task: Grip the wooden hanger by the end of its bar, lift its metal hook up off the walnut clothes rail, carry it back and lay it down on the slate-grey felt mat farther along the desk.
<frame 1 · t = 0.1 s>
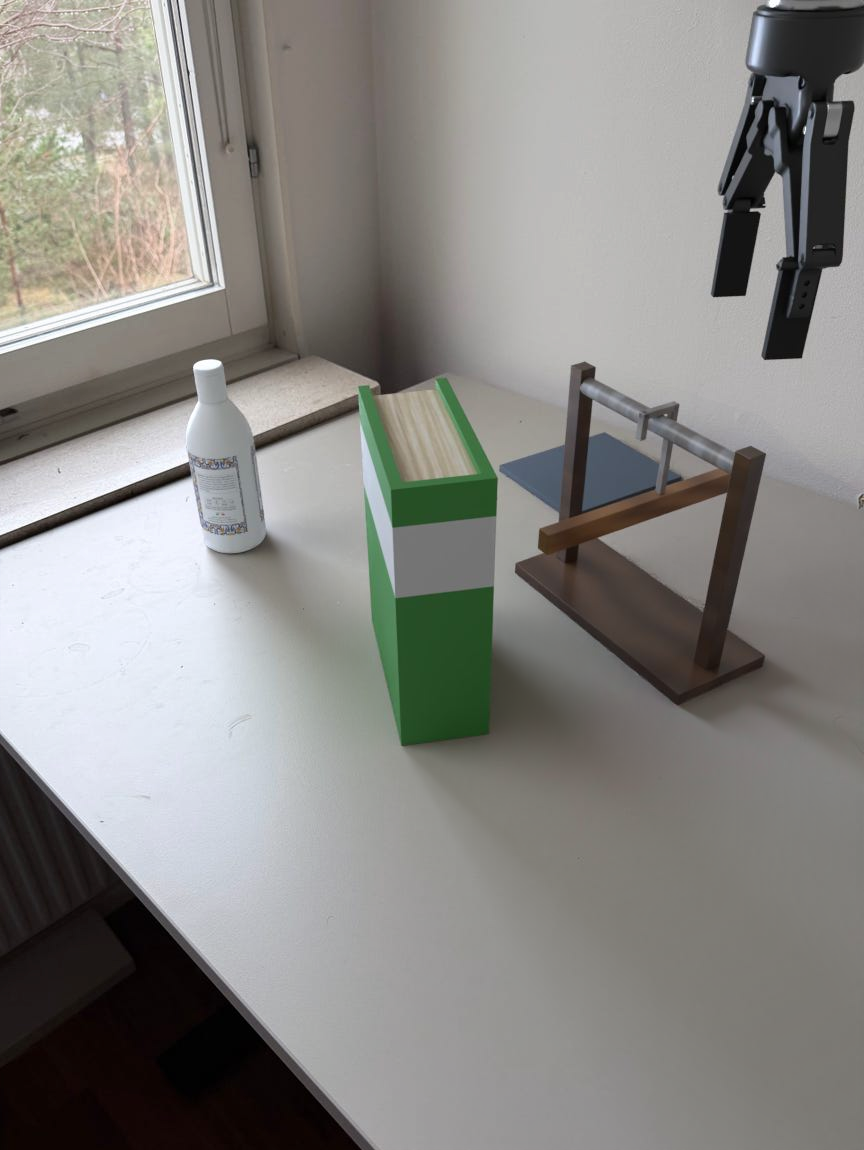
hand: (752, 324, 76), 28 cm above the table, tool pointing down, fingers open, 13 cm apart
hardback book: (426, 674, 88), on the table
hanger: (642, 517, 86), point 11 cm above the table, touching rail stand
rail stand: (629, 616, 93), on the table
bath foam: (235, 540, 107), on the table
mat: (588, 476, 115), on the table
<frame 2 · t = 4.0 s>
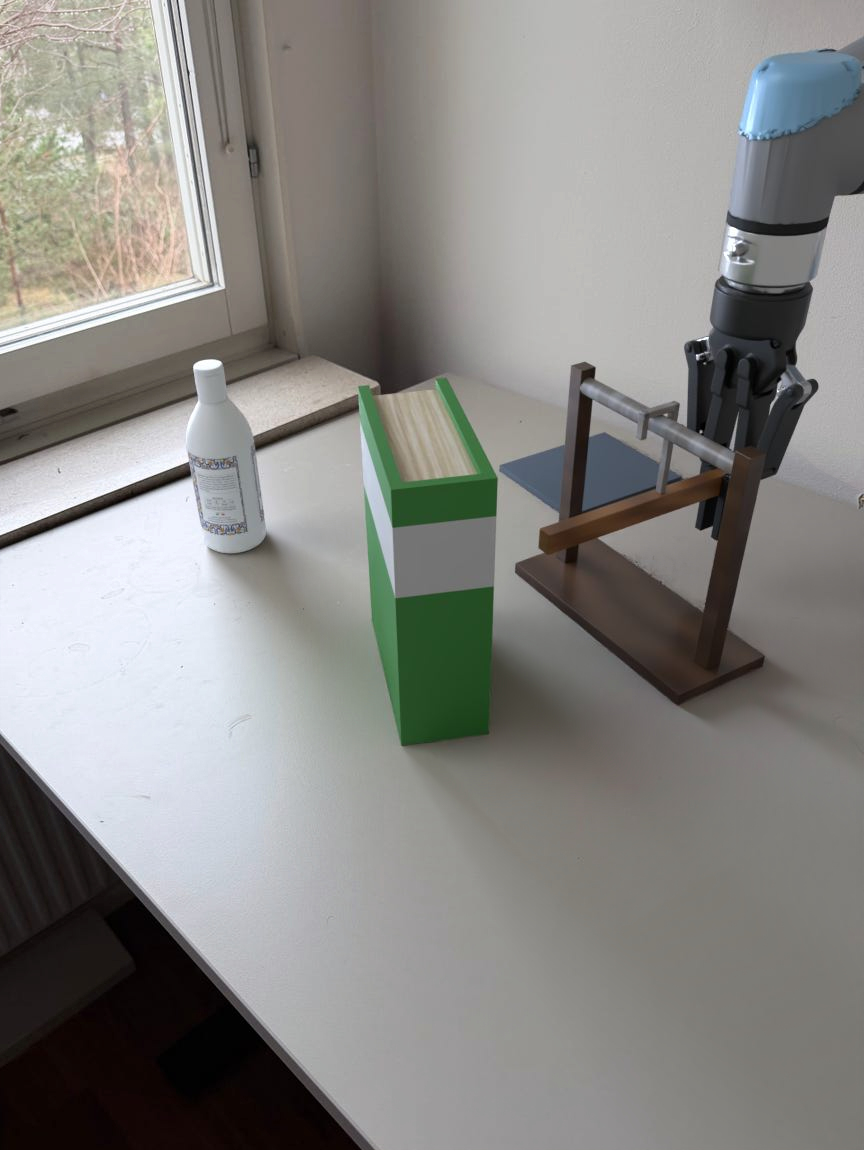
hand: (716, 529, 92), 7 cm above the table, tool pointing down, fingers closed on hanger
hanger: (643, 516, 86), point 11 cm above the table, touching gripper
everything else where it was.
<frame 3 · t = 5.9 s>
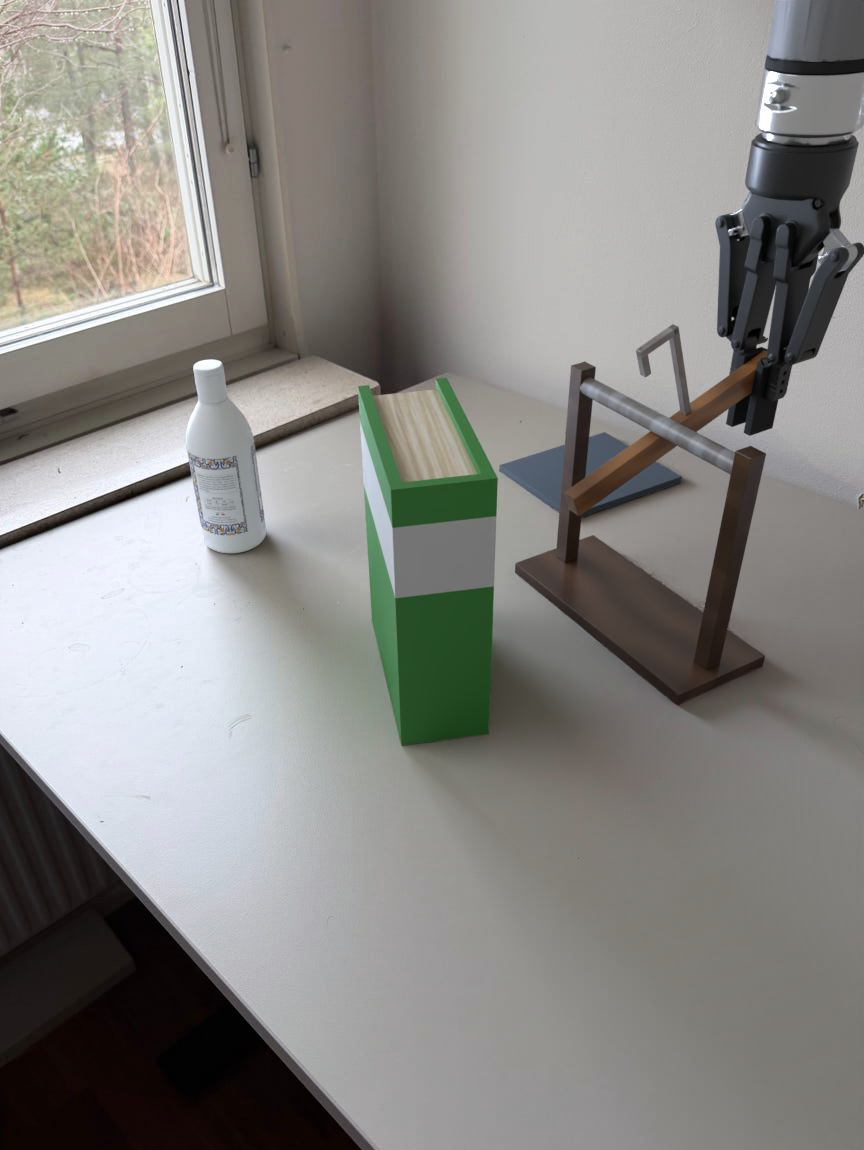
hand: (749, 425, 86), 17 cm above the table, tool pointing down, fingers closed on hanger, 1 cm apart
hanger: (674, 441, 83), point 18 cm above the table, tilted 20°, touching gripper
everything else where it was.
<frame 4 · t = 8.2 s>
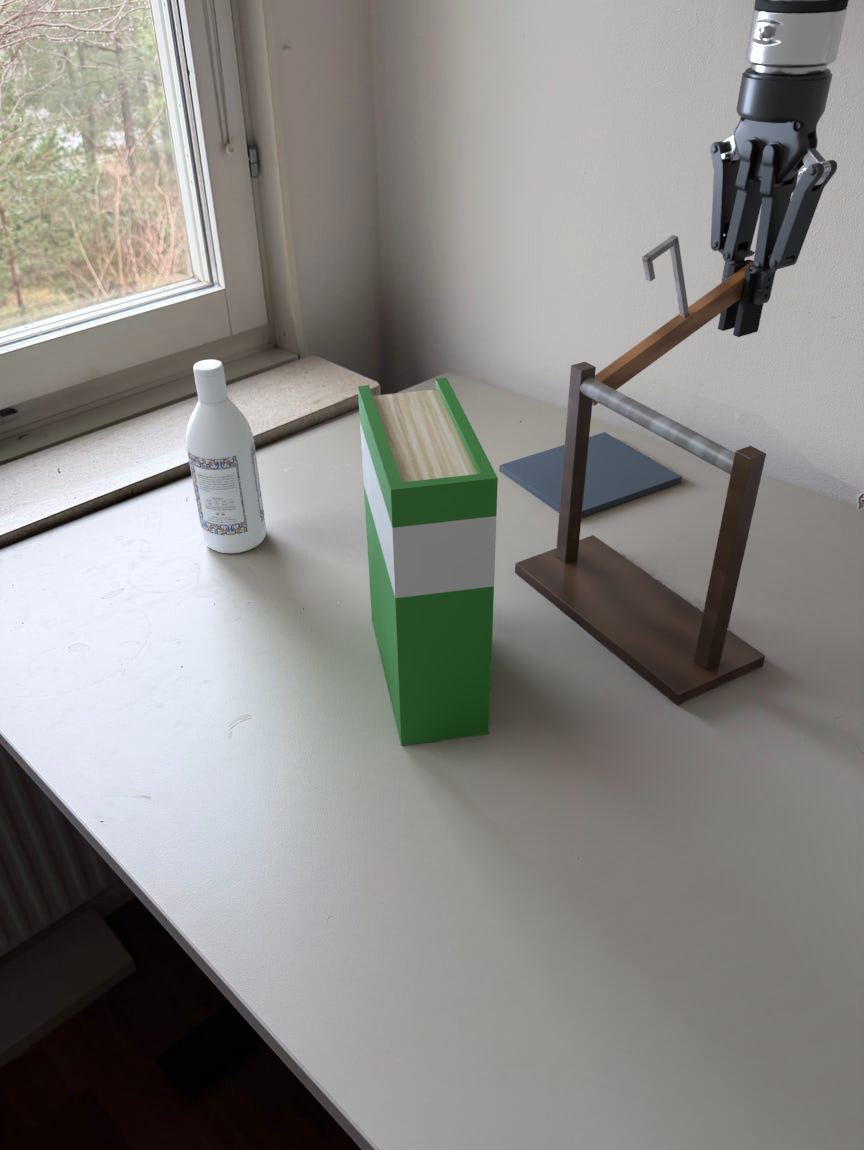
hand: (737, 329, 100), 19 cm above the table, tool pointing down, fingers closed on hanger
hanger: (674, 341, 96), point 19 cm above the table, tilted 21°, touching gripper
everything else where it was.
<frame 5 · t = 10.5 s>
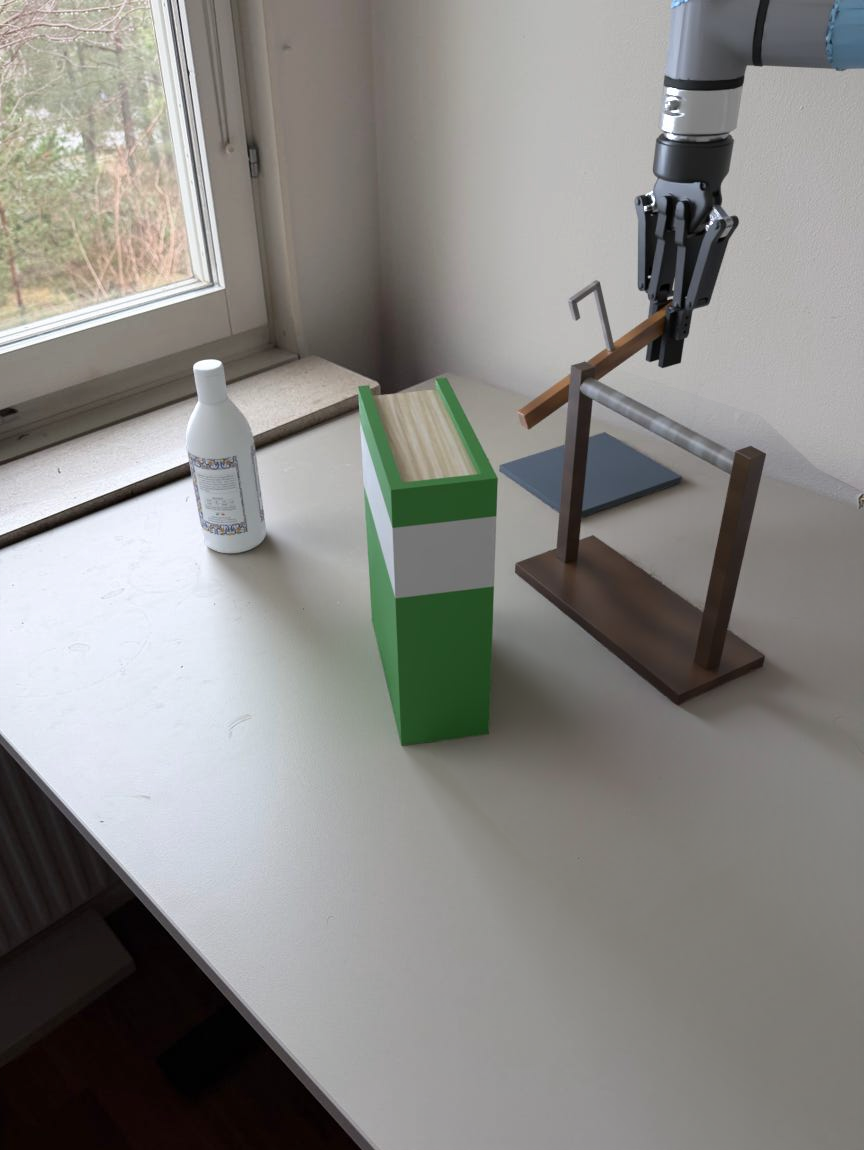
hand: (663, 361, 111), 12 cm above the table, tool pointing down, fingers closed on hanger
hanger: (602, 372, 107), point 13 cm above the table, tilted 21°, touching gripper
everything else where it was.
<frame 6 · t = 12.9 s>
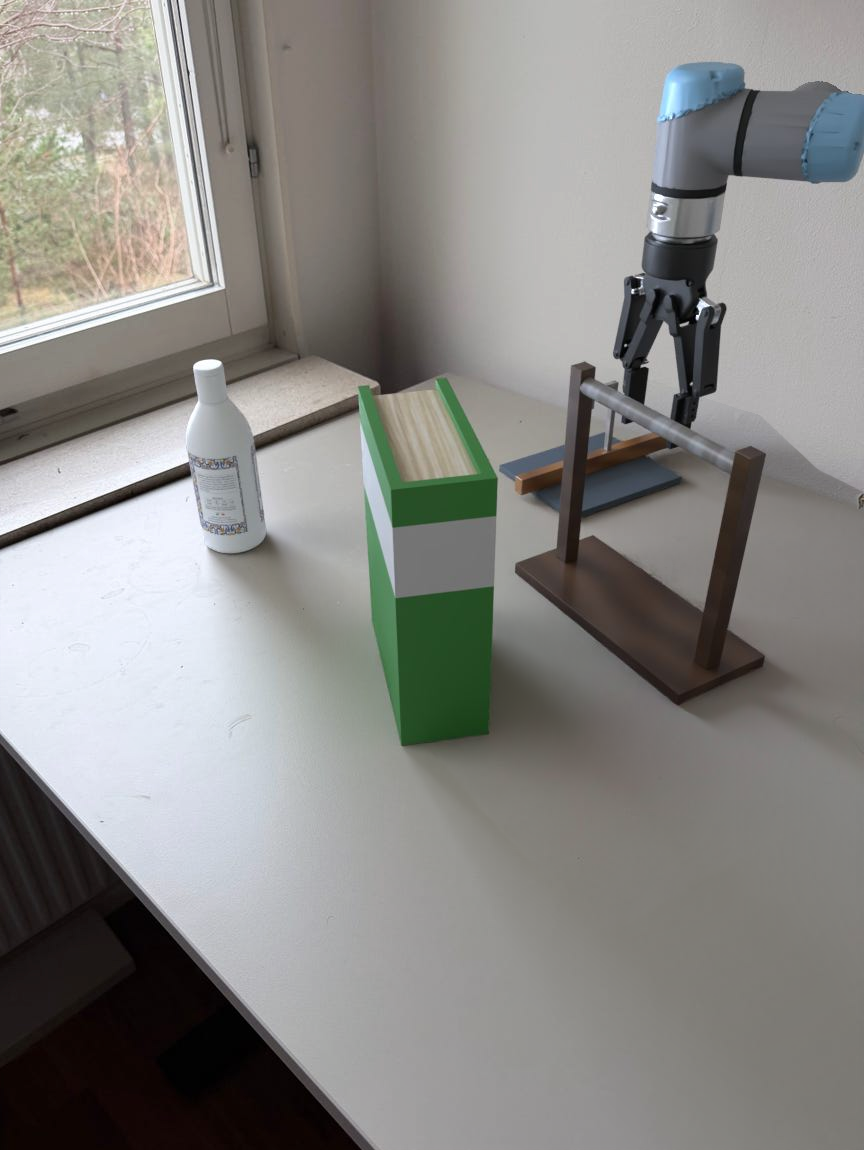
hand: (653, 432, 116), 3 cm above the table, tool pointing down, fingers open, 7 cm apart
hanger: (594, 468, 115), point 1 cm above the table, touching mat
everything else where it was.
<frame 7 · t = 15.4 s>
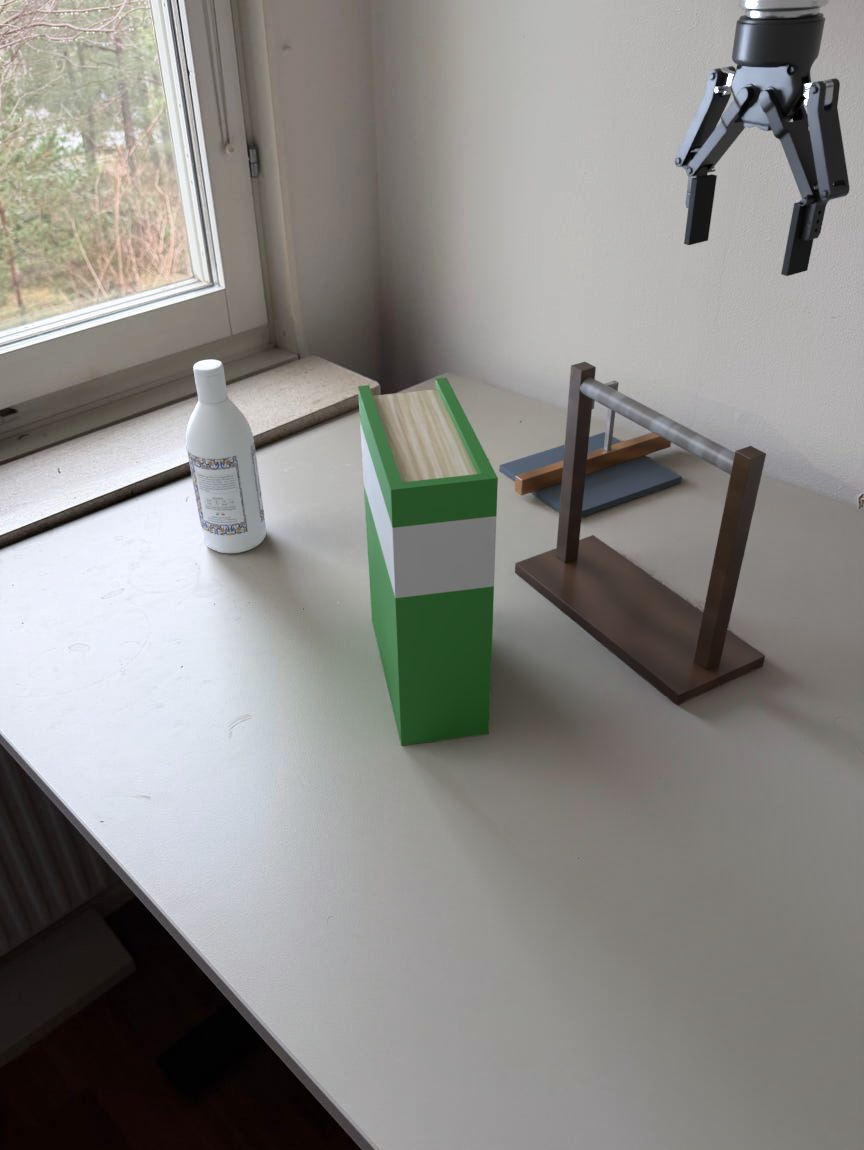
hand: (742, 257, 100), 25 cm above the table, tool pointing down, fingers open, 13 cm apart
nothing on the table moved.
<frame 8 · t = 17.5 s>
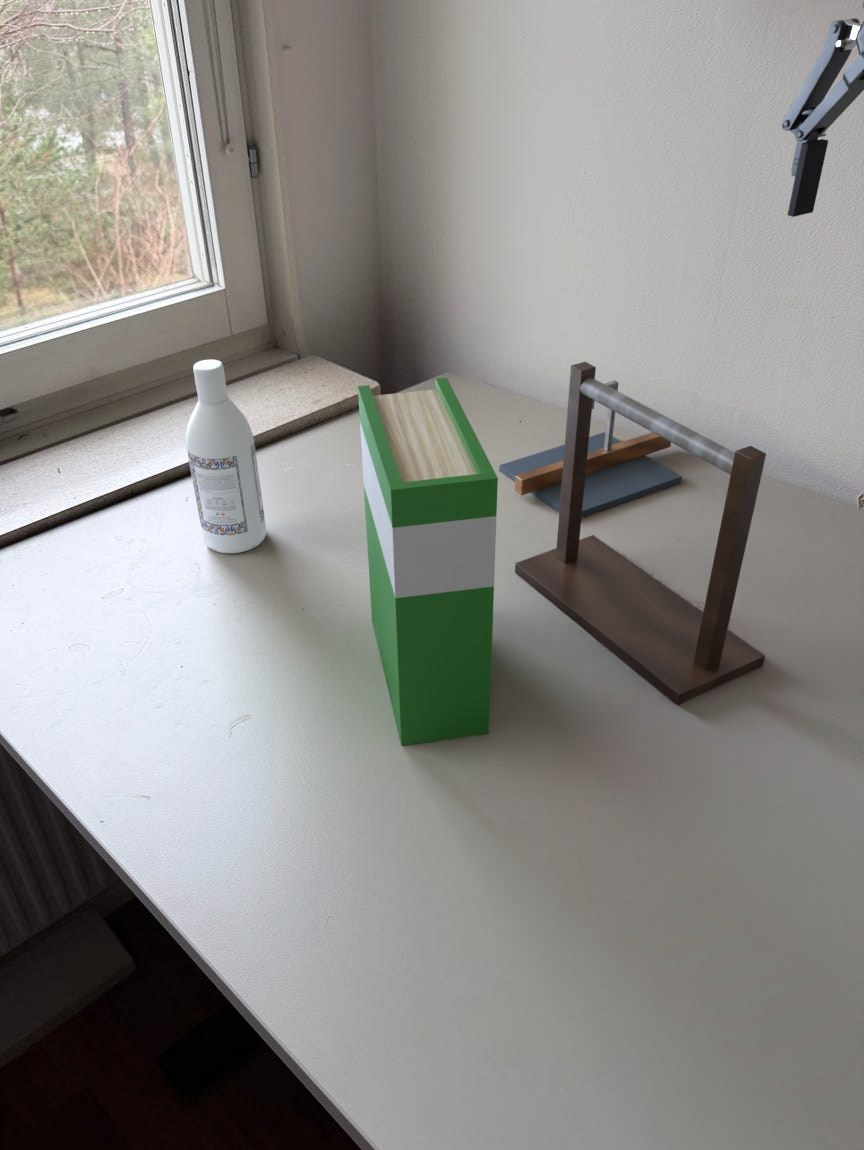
hand: (856, 229, 92), 29 cm above the table, tool pointing down, fingers open, 13 cm apart
nothing on the table moved.
at the end: hanger inside the target area on the mat (0.9 cm from its centre), point 0.8 cm above the mat's base; hanger touching mat; the gripper is holding nothing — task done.
